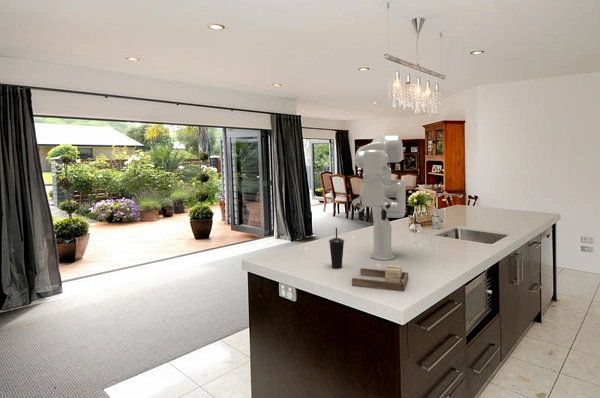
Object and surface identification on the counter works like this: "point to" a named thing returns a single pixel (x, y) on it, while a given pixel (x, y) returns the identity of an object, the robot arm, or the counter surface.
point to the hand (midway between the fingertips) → (372, 220)
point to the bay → (377, 283)
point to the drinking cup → (336, 251)
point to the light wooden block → (393, 274)
